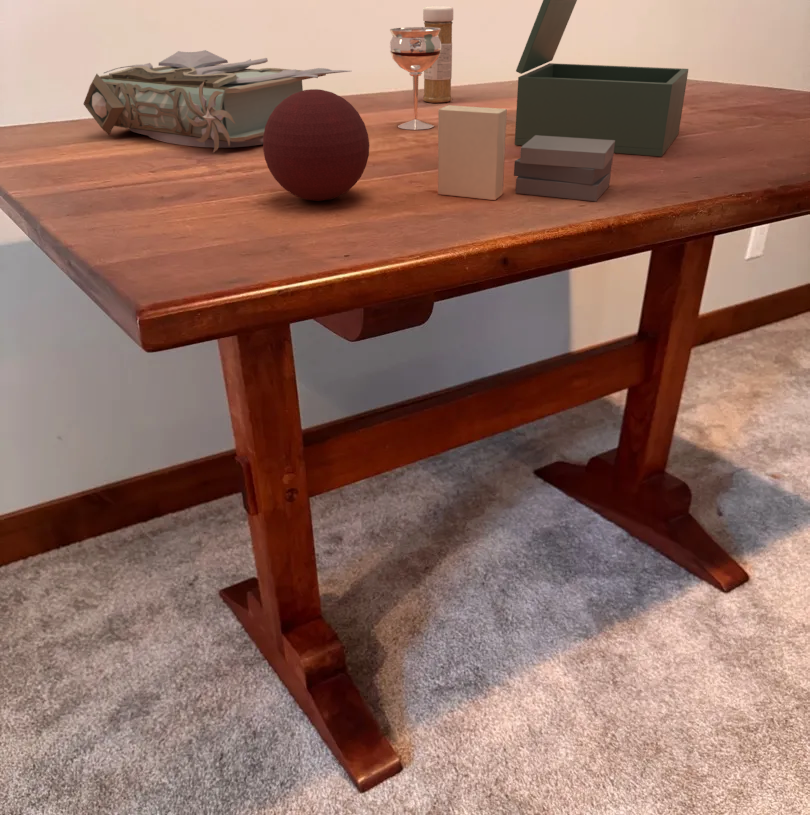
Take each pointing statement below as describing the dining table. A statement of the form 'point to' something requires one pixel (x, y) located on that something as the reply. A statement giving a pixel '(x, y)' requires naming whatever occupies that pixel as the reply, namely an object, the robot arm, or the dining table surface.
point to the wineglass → (415, 59)
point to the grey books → (564, 167)
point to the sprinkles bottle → (441, 70)
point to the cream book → (471, 151)
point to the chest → (602, 105)
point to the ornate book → (195, 99)
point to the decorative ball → (316, 145)
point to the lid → (546, 34)
